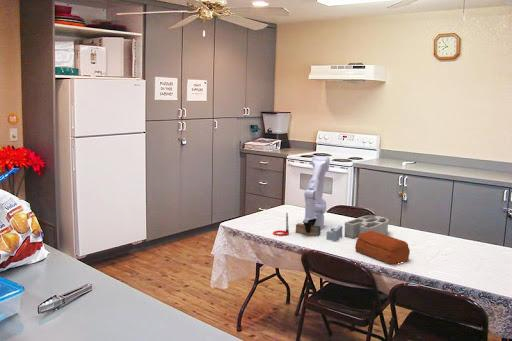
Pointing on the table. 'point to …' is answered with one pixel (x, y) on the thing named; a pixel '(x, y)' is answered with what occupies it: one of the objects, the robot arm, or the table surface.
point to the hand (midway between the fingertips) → (309, 231)
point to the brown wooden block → (314, 230)
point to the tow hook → (283, 231)
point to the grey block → (334, 233)
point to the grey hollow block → (366, 226)
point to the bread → (382, 247)
